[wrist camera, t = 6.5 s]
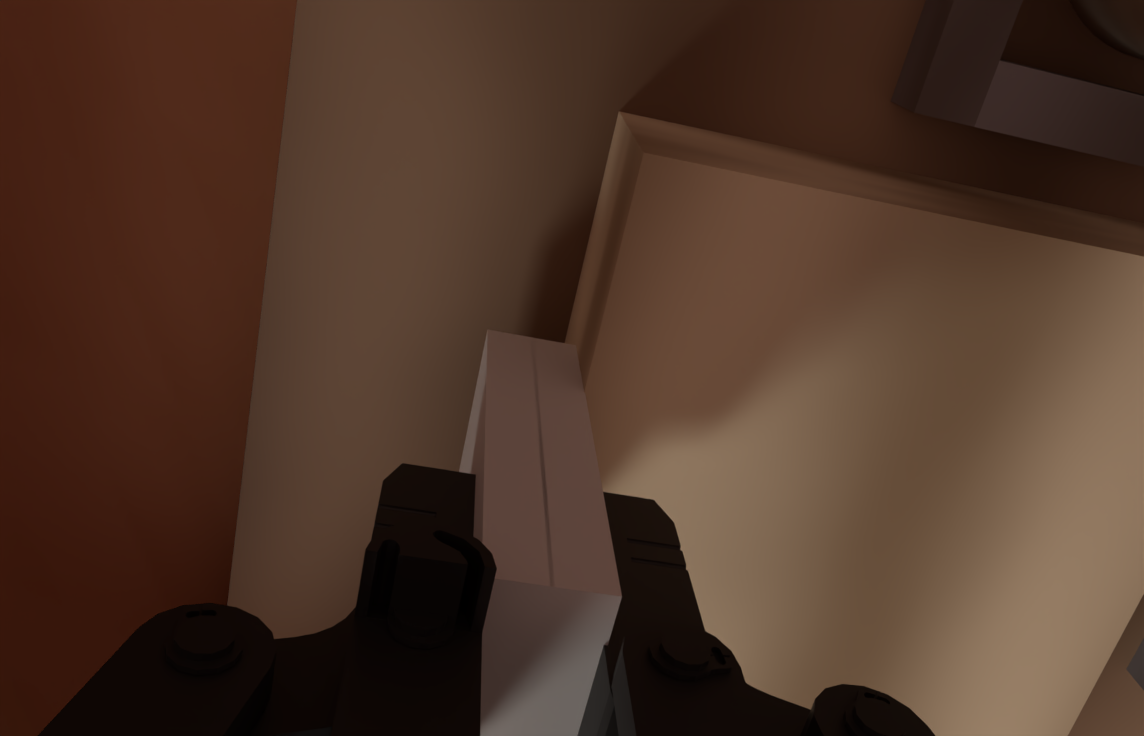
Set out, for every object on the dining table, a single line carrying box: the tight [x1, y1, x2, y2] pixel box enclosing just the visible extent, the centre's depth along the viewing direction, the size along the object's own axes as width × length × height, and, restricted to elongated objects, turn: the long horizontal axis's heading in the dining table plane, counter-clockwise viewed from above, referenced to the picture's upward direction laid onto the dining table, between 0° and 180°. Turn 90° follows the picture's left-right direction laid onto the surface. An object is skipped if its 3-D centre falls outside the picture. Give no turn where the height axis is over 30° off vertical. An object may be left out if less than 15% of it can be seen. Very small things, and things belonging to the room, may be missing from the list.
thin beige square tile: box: [565, 111, 1144, 736], centre depth 17 cm, size 10×10×3 cm
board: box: [227, 0, 1144, 736], centre depth 16 cm, size 22×22×6 cm
